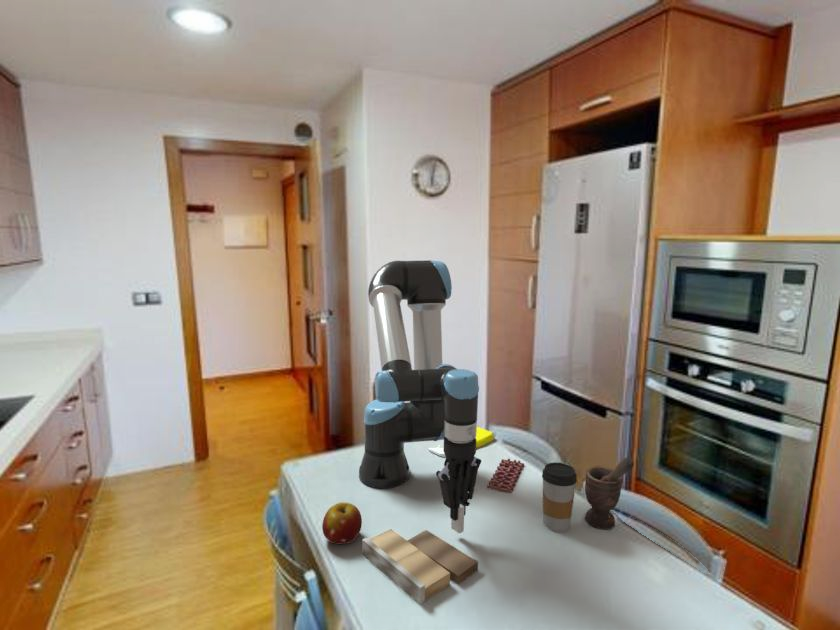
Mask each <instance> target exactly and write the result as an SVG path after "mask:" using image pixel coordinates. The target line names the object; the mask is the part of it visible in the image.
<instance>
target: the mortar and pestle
mask: <svg viewBox="0 0 840 630" xmlns="http://www.w3.org/2000/svg"><path fill="white" fill-rule="evenodd" d="M634 466H635V461H634V460H633V459H632V458H631V457H630V456H629V457H628V456H627V457H623V458H622V459H621V460H620V461H619V462H618V463H617V465H616V466H615V468H614V469H613V468H611V467H606V466H604V465H603V466H602V465H593V466H590V467H588V468H587V469H586V471H585V481H584V492H585V497H586V501H587V503H588V505H590V508H589V509H588V510H586V512H585V515H584V521H585V522H586V523H587V524H588V525H589V526H591V527H593V528H597V529H602V530H603V529H606V530H607V529H609V530H610V529H613V528H614V527H615V526H616V519H615V516H614V515H613V513H612V512H611V511H612V510H614V509H615V508H616V507H617V506H618V503H619V501H620V498H621V492H622V491H621V490H622V484H623V476H624V475H625V474H627V473H628V472H630V471H631V470H632V469H633V467H634Z"/></svg>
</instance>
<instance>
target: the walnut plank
mask: <svg viewBox="0 0 840 630" xmlns="http://www.w3.org/2000/svg"><path fill="white" fill-rule="evenodd" d="M406 540H407V541H408V542H409V543H411V544H412V545H413V546H415V547H416V548H417V549H419V550H420V551H421V552H423V553H424V554H425V555H427V556H428V557H429V558H431V559H432V560H433V561H435V562H436V563H437V564H439V565H440V566H442V567H443V568H444V569H446V570H447V571H448V572H450V582H451V581H452V582H453V583H454V584H455V585H457V586H459V585H460V584H461V583H463V582H464V581H465V580H467V579H469V577H471V576H472V575H474V574H475V573H476V572H477V571H478V570H479V561H477V560H476V559H474V558H473V557H471V556H470V555H468V554H466V553H465V552H463V551H461V550H460V549H458V548H456V547H455V546H453V545H451V544H450V543H449V542H446V540H443V539H442V538H440V537H439V536H437V535H435V534H433V532H431V531H429V530H428V529H425V530H423V531H422V532H419V533H418V534H416V535H415V536H413V537H410V539H406Z"/></svg>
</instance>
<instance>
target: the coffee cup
mask: <svg viewBox="0 0 840 630" xmlns="http://www.w3.org/2000/svg"><path fill="white" fill-rule="evenodd" d="M541 477H542V513H543V515H542V516H543V524H544V526H545V527H546V528H547V529H548V530H550V531H553V532H556V533H557V532H558V533H562V532H566V531H567V530H568V529H569V528H570V525H571V517H572V515H573V514H572V513H573V509H574V508H573V507H574V501H575V489H576V483H577V473H576V470H575V468H574V467H573V466H572V465H570V464H567V463H563V462H548V463H547V464H546V465H544V468H543V469H542V474H541Z"/></svg>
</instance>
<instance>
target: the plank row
mask: <svg viewBox="0 0 840 630" xmlns="http://www.w3.org/2000/svg"><path fill="white" fill-rule="evenodd" d="M407 540H408V539H405V538H404V537H403V536H401V535H400V534H399V533H397V532H396V531H394V530H393V529H392V528H390V529H388V530H386V531H383V532H382V533H380V534H377V535H376V536H374V537H371V538H368V537H365V538H362V543H361V544H362V547H361V549H362V550H361V551H362V555H363V556H364V557H365V558H366V559H368V560H369V561H370V562H371V563H372V564H374V566H376V567H377V568H378V569H379V570H380V571H381V572H382V573H384V574H385V575H386V576H387V577H388V578H389V579H390V580H392V581H393V582H394V583H395V584H396V585H397V586H398V587H399V588H401V589H402V590H403V591H404V592H406V594H408V595H409V596H410V597H411V598H412V599H413V600H415V601H416V602H417V603H418V604H419V605H420V604H423V603H424V602H426V601H427V600H428V599H430V598H432V597H433V596H435V595H437V594H439V593H440V592H441V591H444V589H447V587H449V586H451V580H450V572H448V571H447V570H446V569H444V568H443V567H442V566H440V565H439V564H437V563H436V562H435V561H433V560H432V559H431V558H429V557H428V556H427V555H425V554H424V553H423V552H421V551H420V550H419V549H417V548H416V547H415V546H413V545H412V544H411V543H409V542H408V541H407Z"/></svg>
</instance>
